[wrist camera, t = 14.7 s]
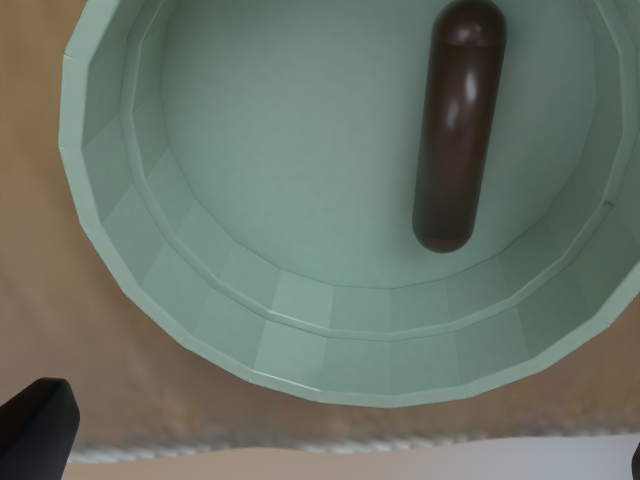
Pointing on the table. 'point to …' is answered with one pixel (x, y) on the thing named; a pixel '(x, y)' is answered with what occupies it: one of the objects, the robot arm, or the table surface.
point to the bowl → (353, 189)
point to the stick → (457, 121)
